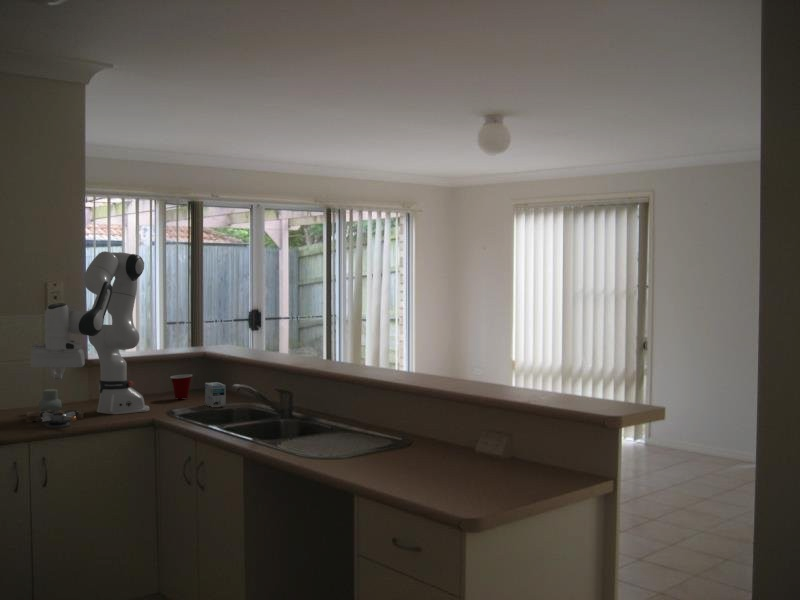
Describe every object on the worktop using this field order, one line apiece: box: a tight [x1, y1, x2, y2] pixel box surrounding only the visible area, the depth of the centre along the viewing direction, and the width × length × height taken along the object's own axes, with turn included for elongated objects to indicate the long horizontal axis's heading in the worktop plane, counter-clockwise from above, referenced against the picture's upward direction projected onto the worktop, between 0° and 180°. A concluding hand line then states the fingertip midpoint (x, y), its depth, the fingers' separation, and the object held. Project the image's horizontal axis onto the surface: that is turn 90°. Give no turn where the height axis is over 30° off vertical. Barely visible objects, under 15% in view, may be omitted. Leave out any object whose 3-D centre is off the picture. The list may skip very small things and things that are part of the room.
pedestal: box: [45, 421, 71, 429], centre depth 308 cm, size 9×9×1 cm
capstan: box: [35, 409, 79, 425], centre depth 308 cm, size 20×20×5 cm
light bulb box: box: [204, 381, 227, 406], centre depth 359 cm, size 11×7×11 cm, turn 34°
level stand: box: [25, 408, 85, 423], centre depth 324 cm, size 22×10×4 cm, turn 114°
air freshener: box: [38, 388, 63, 412], centre depth 337 cm, size 11×8×10 cm
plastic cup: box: [169, 373, 193, 399], centre depth 377 cm, size 11×11×12 cm
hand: (58, 378), depth 304 cm, fingers closed
